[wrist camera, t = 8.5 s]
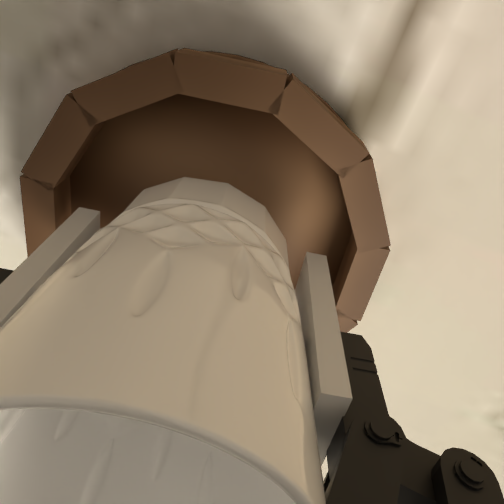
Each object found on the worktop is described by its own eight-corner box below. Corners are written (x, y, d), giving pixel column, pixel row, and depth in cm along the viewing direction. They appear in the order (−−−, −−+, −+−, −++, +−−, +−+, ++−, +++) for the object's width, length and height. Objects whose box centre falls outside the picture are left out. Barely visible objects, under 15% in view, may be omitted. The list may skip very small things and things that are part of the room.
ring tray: (38, 12, 14) (1, 12, 12) (429, 96, 15) (450, 109, 13) (57, 320, 21) (36, 351, 20) (322, 369, 22) (326, 403, 20)
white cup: (68, 279, 17) (-155, 563, 8) (154, 111, 13) (-81, 301, 5) (233, 364, 19) (193, 669, 10) (348, 236, 15) (437, 539, 6)
